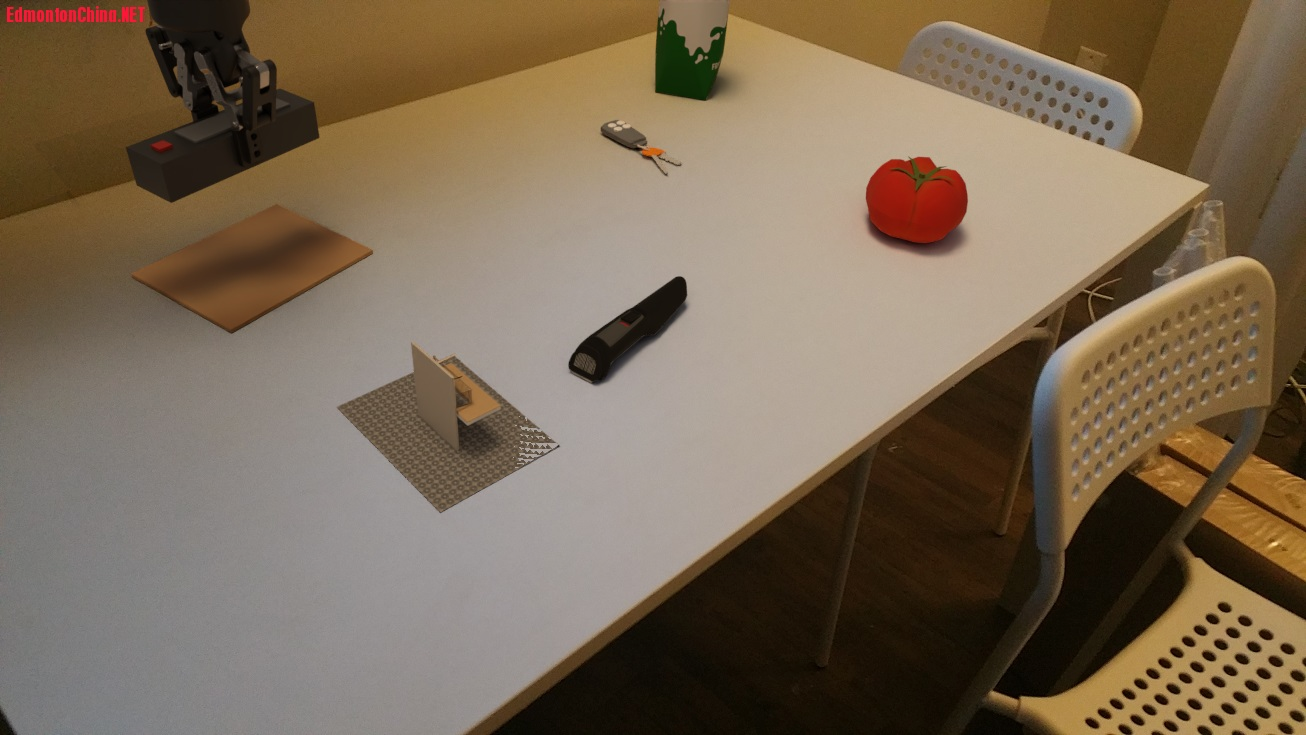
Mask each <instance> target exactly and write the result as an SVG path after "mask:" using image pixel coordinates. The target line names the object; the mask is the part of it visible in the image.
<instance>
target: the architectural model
mask: <svg viewBox="0 0 1306 735" xmlns="http://www.w3.org/2000/svg"><path fill="white" fill-rule="evenodd" d="M410 346H411V347H410V348H411V356H412V365H413V372H410V373H408V374H406V375H404V376H401V377H399V378H397V379H395V380H393V381H390V382H389V383H386V384H384V385H382V386H380V387H377V388H375V389H372V390H370V391H368V392H366V393H364V394H362V395H360V396H357V397H355V398H353V399H351V400H348V401H346V402H344V403H342V404H341V405H340V404H339V405H338V406H336V409H338V410H339V411H340V412H341V413H342V415H344V416H345V417H346V418H347V420H349V421H350V422H351V423H352V425H353V426H354V427H355V428H357V430H358V431H359V432H360V433H362V434H363V436H364V437H365V438H366V439H368V441H369V442H370V443H371V444H372V445H373V446H374V447H375V448H376V449H377V450H378V451H379V452H380V453H381V454H382V455H383V456H384V457H385V459H387V460H388V461H389V462H390V463H391V464H392V465H393V466H394V467H395V468H396V469H397V470H398V471H399V472H400V473H401V475H403V476H404V477H405V479H407V480H408V481H409V483H410V484H412V485H413V487H414V488H416V489H417V490H418V492H420V494H422V496H423V497H424V498H426V500H427V501H428V502H429V503H430V504H431V505H432V506H433V507H434V508H435V509H436V510H437V511H438V512H439V513H442V512H444V511H446V510H448V509H450V508H451V507H453V506H455V505H456V504H458V503H460V502H462V501H464V500H466V499H467V498H470V497H471V496H473V495H474V494H476V493H478V492H480V491H482V490H484V489H486V488H488V487H489V486H491V485H493V484H494V483H496V482H498V481H499V480H501V479H503V478H505V477H507V476H509V475H511V474H513V473H514V472H516V471H517V470H519V469H521V468H523V467H524V466H523V464H517V463H524V464H527V465H528V464H530V463H531V462H530V461H528V462H527V463H526V462H525V461H524V460H521V461H519V459H518V458H523V459H535V460H537V459H538V458H537V457H534V458H532V457H531V456H529V457H528V458H527V457H526V456H525V455H521V456H520V454H519V453H525V454H537V455H543V456H544V455H546V454H549V453H550V452H549V451H548V452H547V453H546V454H545V453H544V452H543V451H542V452H541V453H540V454H539V453H538V452H537V451H535V452H534V453H533V452H532V451H531V450H529V451H528V452H527V451H526V450H525V448H530V449H552V448H551V447H550V446H549V445H548V444H547V446H546V448H545V447H544V446H543V445H542V446H541V447H540V448H539V446H538V445H537V444H536V443H557V442H556V441H555V440H554V439H552V438H551V439H549V438H548V437H550V436H549V435H547V433H546V432H544V431H543V430H542V431H541V432H538V431H537V430H534V432H533V431H532V430H531V429H530V430H529V431H527V429H525V430H522V429H521V427H520V426H522V427H528V428H538V429H540V427H539V426H537V425H536V424H535V423H534V422H532V420H530V419H529V418H528V417H527V421H526V419H525V417H526V415H524V414H523V413H522V412H521V411H520V410H519V409H517V407H515V406H514V405H513V404H512V403H510V402H509V401H508V400H507V399H506V398H504V397H503V396H502V395H501V394H500V393H499V392H498V391H497V390H495V389H494V388H493V387H492V386H491V385H489V384H488V383H487V382H486V381H485V380H484V379H482V378H481V377H480V376H479V375H478V374H476V373H475V371H473V370H472V369H470V368H469V367H468V366H467V365H466V364H464V362H463V361H461V360H460V359H459V358H457V353H452V354H450V355H448V356H445V357H443V358H441V359H439V358H437V357H436V355H435V354H433V355H432V356H431V355H430V354H429V353H428V352H426V351H425V350H424V349H423V348H422V347H421V346H420V345H418V344H417V343H416V342H415V341H411V342H410ZM519 416H520V417H519ZM515 425H517V426H515ZM520 434H522V435H523V436H521V435H520ZM525 435H529V436H528V438H527V437H526V436H525ZM531 436H533V438H532V437H531ZM536 436H543V437H545V439H543V438H542V437H539V439H538V438H537V437H536ZM520 441H523V443H522V444H521V442H520ZM525 442H531V443H535V445H534V447H533V445H532V444H531V443H529V445H528V446H527V444H526V443H525ZM514 446H515V447H514ZM519 447H521V448H524V449H522V450H521V449H520V448H519ZM557 448H558V447H555V448H553V450H556V449H557ZM513 457H514V458H513ZM535 460H534V461H535ZM515 467H519V468H515Z"/></svg>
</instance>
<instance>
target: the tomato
mask: <svg viewBox="0 0 1306 735" xmlns="http://www.w3.org/2000/svg"><path fill="white" fill-rule="evenodd" d="M947 167H948V166H947V165H946V166H944V165H943V166H937V165H936V164H935V162H934V161H933V159H931V157H930V156H915V157H913V158H911V157H910V156H908V159H907V160H905V159H902V158H890V159H889V160H888V161H886V162H884V163H883V164H881V165H880V166H879V167H878V168H877V169H876V170H875V172H873V174H872V175H871V177H870V178H869V180H868V182H867V185H866V188H865V202H866V206H867V211H868V216H869V220H870V222H871V223H872V224H873V225H874V226H875V227H876V228H877V229H878V230H879V231H881V232H882V233H883V234H886V235H888V236H889V237H893V238H897V239H900V240H905V241H909V242H912V243H919V244H928V243H933V242H939V241H942V240H943V239H944V238H945V237H946V236H947V235H948V234H949V233H950V232H951V231H953V230H954V229H956V228H957V227H958V226H959V225H960V224H961V223H962V222H963V221H964V218H965V217H966V214H967V211H968V203H969V197H968V196H969V195H968V189H967V184H966V182H965V180H964V178H963V177H962V175H961V174H960V173H959V172H958V171H957V170H955V169H952V168H947Z"/></svg>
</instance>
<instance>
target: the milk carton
mask: <svg viewBox="0 0 1306 735" xmlns="http://www.w3.org/2000/svg"><path fill="white" fill-rule="evenodd" d="M730 3H731V0H658V12H657V24H656V36H655V38H656V40H655V54H654V57H655V58H654V62H655V63H654V65H655V66H654V92H655V93H659V94H660V93H661V94H666V95H671V96H672V95H673V96H676V97H684V98H689V99H694V100H695V99H696V100H700V101H707V99H708V97H709V95H710V94H711V93H710V92H711V91H712V88H713V87H714V85H715V83H716V80H717V77H718V73H719V70H720V67H721V63H722V60H723V57H724V51H725V44H726V37H727V36H726V35H727V28H728V21H729V20H728V19H729V12H730Z"/></svg>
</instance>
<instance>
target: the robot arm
mask: <svg viewBox="0 0 1306 735" xmlns="http://www.w3.org/2000/svg"><path fill="white" fill-rule="evenodd" d="M146 1H147V5H148V9H149V13H150V17H151V19H152V20H153V22H154V23H156V24H157V25H154V26H150V27H146V28H145V35H146V38H147V40H148V43H149V45H150V48H151V50H152V53H153V56H154V58H155V61H156V63H157V65H158V68H159V71H160V73H161V75H162V78H163V80H164V83H165V85H166V87H167V90H168V92H169V94H170V95H171V96H172V97H173V98H175V99H177V98H179V97H180V98H181V99H182V103H183V105H184V107H185V108H186V109H187V110H188V111H190V114H191V118H192V122H193V121H196V120H198V119H201V118H204V117H206V116H209V115H212V114H214V113H217V112H219V111H220V110H219V106H222V107H223V110H225V112H226V114H227V117H228V119H229V122H230V124H231V126H232V129H231V132H232V136H233V140H234V144H235V149H236V154H237V158H238V163H239V165H240V166H241V167H243V168H246V169H248V170H250V169H253V168H255V167H257V166H259V165H262V164H263V163H262V162H263V160H264V150H263V145H262V139H261V134H260V129H259V127H261V126H263V125H265V124H268V123H271V122H274V121H275V120H276V90H277V84H278V83H277V81H278V69H277V66H276V62H274V61H273V60H272V59H270V58H268V59H265V60H262V61H261V60H259V59H258V58H256V57H255V56H253V54H251V49H250V46H249V44H248V42H247V40H246V38H245V35H244V32H243V26H244V24H245V22H246V20H248V18H249V17H250V15H251V6H250V0H146ZM175 68H176V74H175V71H174V69H175ZM176 75H177V76H176ZM239 83H240V85H239V86H238V87H237V88H235V89H233V90H230V91H226V89H227V88H229V87H232V86H234V85H237V84H239ZM225 88H226V89H225ZM238 101H242V102H241V103H242V114H240V113H239V111H238V108H237V106H236V105H237V102H238ZM215 103H216V104H215ZM261 105H262V109H261V110H260V109H259V106H261ZM258 164H259V165H258ZM256 165H257V166H256ZM254 166H255V167H254ZM249 168H250V169H249Z"/></svg>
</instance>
